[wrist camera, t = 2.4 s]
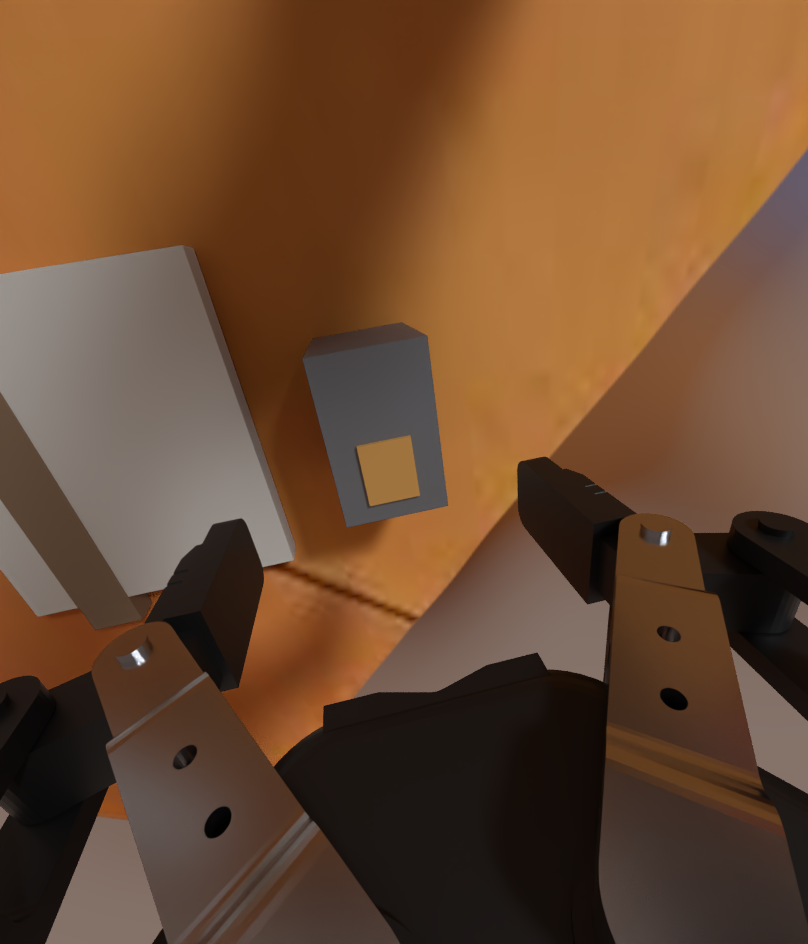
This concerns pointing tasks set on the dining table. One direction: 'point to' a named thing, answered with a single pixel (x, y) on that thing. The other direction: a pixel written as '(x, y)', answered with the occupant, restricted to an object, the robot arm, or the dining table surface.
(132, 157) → the dining table surface
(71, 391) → the board
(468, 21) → the dining table surface
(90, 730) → the robot arm
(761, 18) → the dining table surface
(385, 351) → the block
